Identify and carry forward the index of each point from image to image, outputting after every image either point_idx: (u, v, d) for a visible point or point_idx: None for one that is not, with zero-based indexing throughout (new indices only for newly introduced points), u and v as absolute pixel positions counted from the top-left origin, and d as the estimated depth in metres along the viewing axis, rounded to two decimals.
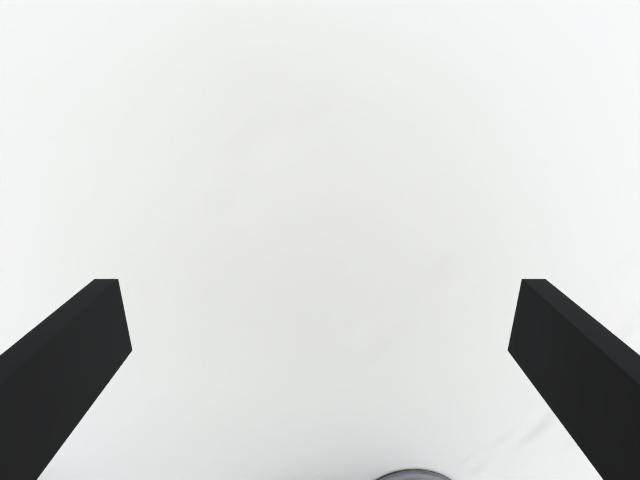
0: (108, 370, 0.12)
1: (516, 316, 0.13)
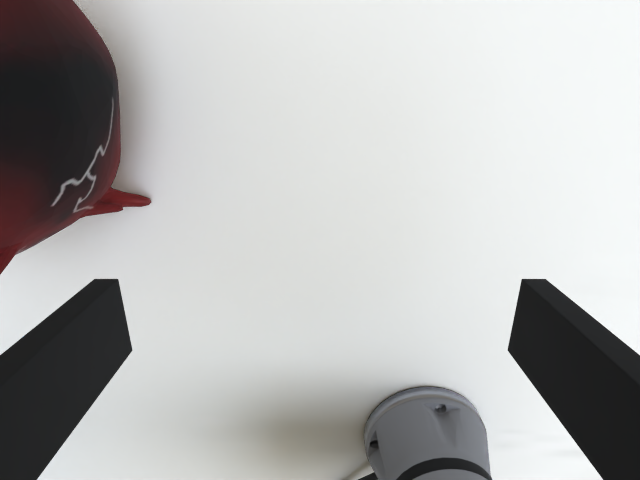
0: (107, 370, 0.12)
1: (515, 316, 0.13)
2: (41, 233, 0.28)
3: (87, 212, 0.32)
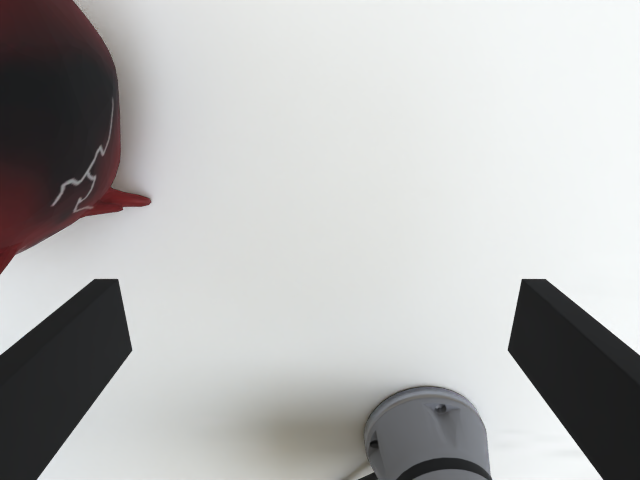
0: (107, 370, 0.12)
1: (515, 316, 0.13)
2: (41, 233, 0.28)
3: (87, 212, 0.32)
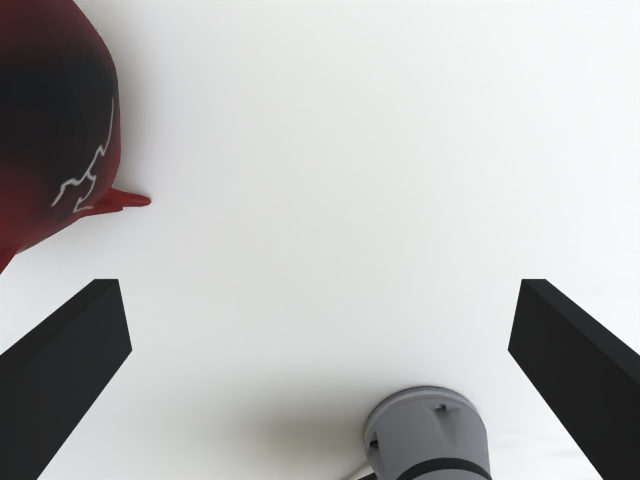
0: (107, 370, 0.12)
1: (515, 316, 0.13)
2: (41, 233, 0.28)
3: (87, 212, 0.32)
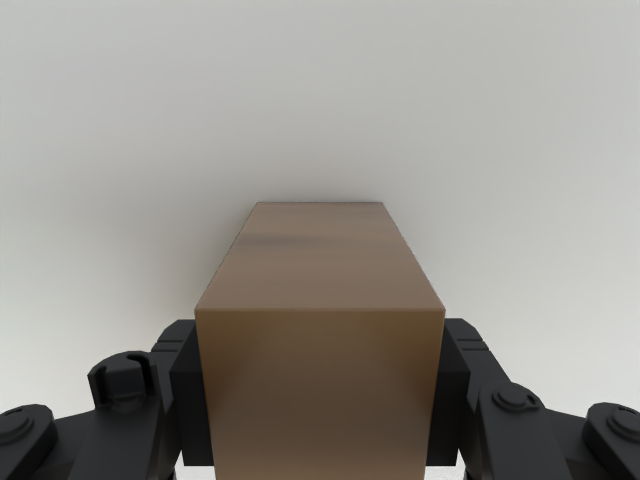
0: None
1: None
2: None
3: None
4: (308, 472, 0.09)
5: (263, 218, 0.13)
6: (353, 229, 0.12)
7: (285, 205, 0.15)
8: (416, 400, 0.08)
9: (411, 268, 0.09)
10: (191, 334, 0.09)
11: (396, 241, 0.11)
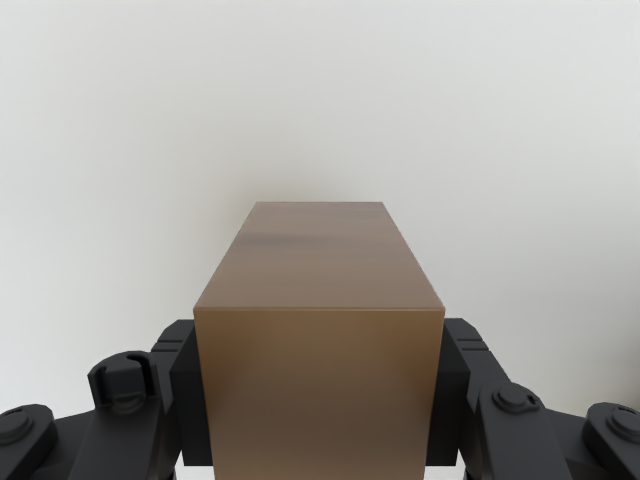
0: None
1: None
2: None
3: None
4: (307, 472, 0.09)
5: (262, 217, 0.13)
6: (353, 228, 0.12)
7: (285, 204, 0.15)
8: (416, 400, 0.08)
9: (411, 267, 0.09)
10: (191, 334, 0.09)
11: (396, 240, 0.11)
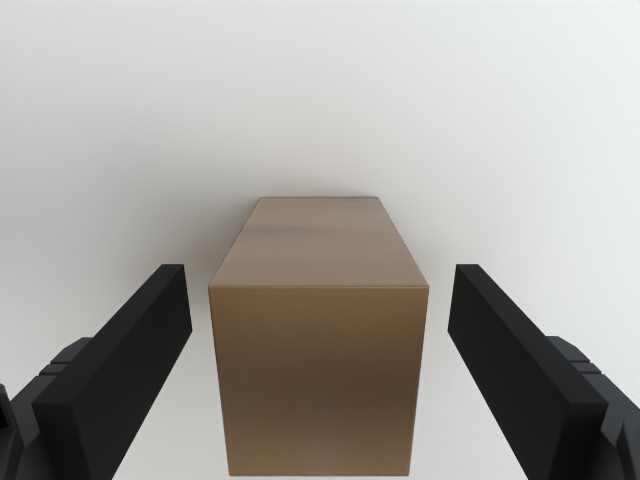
0: (177, 346, 0.13)
1: (453, 299, 0.14)
2: None
3: None
4: (308, 436, 0.10)
5: (266, 211, 0.14)
6: (350, 220, 0.13)
7: (287, 199, 0.16)
8: (404, 369, 0.09)
9: (401, 253, 0.10)
10: (76, 357, 0.09)
11: (389, 230, 0.12)
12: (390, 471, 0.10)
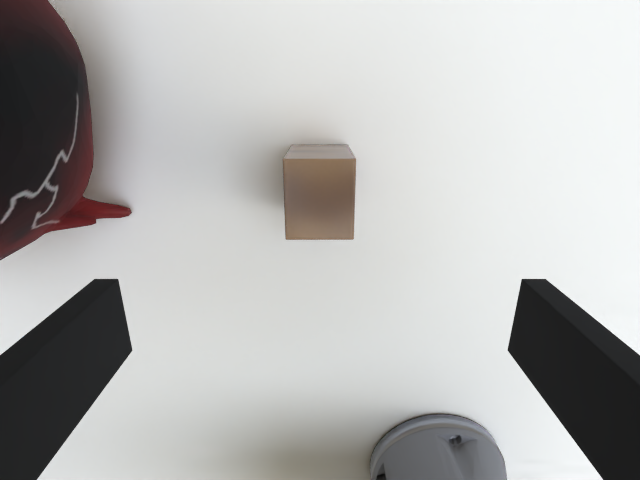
0: (107, 370, 0.12)
1: (515, 316, 0.13)
2: None
3: (52, 227, 0.28)
4: (315, 220, 0.27)
5: (296, 147, 0.32)
6: (333, 149, 0.30)
7: (304, 145, 0.33)
8: (349, 191, 0.27)
9: (350, 154, 0.28)
10: None
11: (348, 151, 0.29)
12: (346, 236, 0.28)
